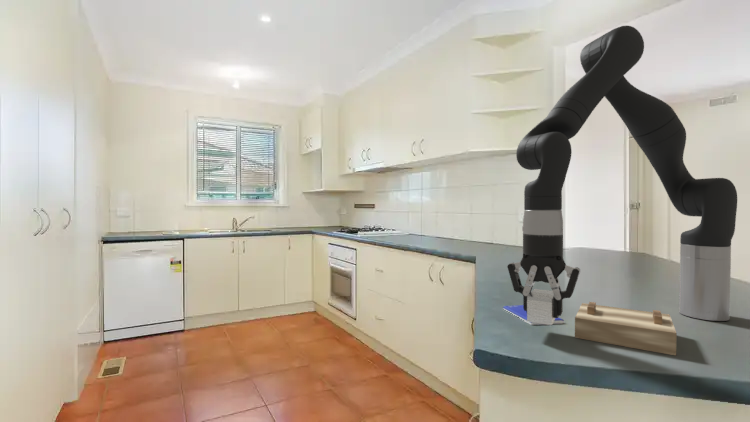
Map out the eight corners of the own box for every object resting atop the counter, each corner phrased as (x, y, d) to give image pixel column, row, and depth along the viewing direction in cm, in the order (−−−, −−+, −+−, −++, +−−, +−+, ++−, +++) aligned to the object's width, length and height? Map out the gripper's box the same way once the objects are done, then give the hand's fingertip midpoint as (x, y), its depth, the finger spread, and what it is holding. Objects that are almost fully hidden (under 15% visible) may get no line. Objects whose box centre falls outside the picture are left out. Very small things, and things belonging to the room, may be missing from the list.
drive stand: (581, 320, 88) (582, 296, 88) (669, 333, 79) (669, 307, 79) (574, 337, 76) (575, 310, 76) (676, 355, 67) (676, 324, 67)
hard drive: (502, 305, 96) (531, 320, 84) (532, 304, 98) (564, 318, 85) (502, 312, 96) (531, 327, 84) (532, 310, 98) (564, 325, 85)
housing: (534, 311, 82) (534, 288, 82) (557, 314, 80) (557, 291, 80) (527, 321, 76) (527, 296, 75) (551, 325, 73) (551, 299, 73)
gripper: (584, 232, 76) (583, 316, 77) (511, 229, 84) (511, 306, 85) (580, 234, 70) (579, 326, 71) (502, 232, 78) (501, 314, 79)
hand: (542, 314), depth 78 cm, fingers closed on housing, 4 cm apart
